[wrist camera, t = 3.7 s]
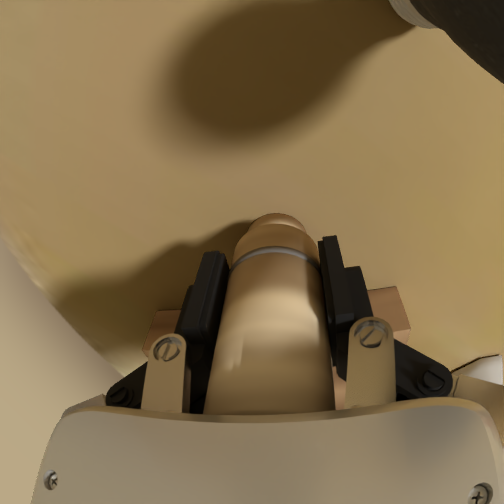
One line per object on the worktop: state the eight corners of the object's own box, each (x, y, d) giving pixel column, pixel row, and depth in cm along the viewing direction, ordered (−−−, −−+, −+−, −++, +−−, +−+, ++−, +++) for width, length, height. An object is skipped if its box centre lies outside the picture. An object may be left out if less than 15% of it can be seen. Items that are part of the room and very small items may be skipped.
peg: (228, 210, 14) (176, 406, 6) (312, 198, 13) (341, 402, 6) (246, 274, 16) (222, 451, 9) (319, 265, 15) (337, 448, 8)
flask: (510, 344, 19) (544, 438, 11) (489, 382, 23) (511, 462, 15) (444, 367, 21) (470, 475, 13) (431, 401, 25) (446, 488, 17)
